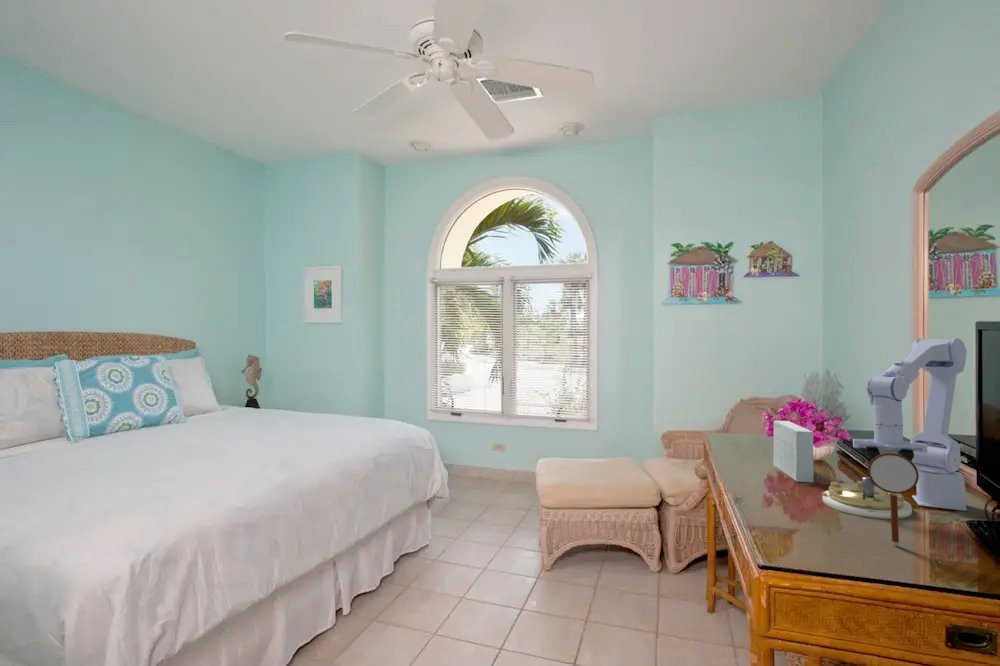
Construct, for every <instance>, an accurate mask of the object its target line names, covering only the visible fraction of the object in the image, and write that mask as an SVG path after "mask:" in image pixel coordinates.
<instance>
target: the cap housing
mask: <svg viewBox="0 0 1000 666" xmlns="http://www.w3.org/2000/svg"><path fill="white" fill-rule="evenodd" d="M821 494H822V502H823V503H824V504H825V505H826V506H828V507H829V506H830V508H831V507H832V508H831V509H833V510H837V511H839V512H842V513H847V514H848V515H849V514H850V515H853V516H860V517H865V518H872V519H873V518H874V519H881V520H882V519H884V520H887V519H888V520H891V510H873V509H865V508H859V507H854V506H850V505H846V504H843V503H840V502H837V501H835V500H833V499H832V498H830V497H829V489H828V490H825V491H823V492H821ZM912 509H913V506H912V504H911V503H910V502H908V501H906V500H904V507H903V508H901V509H898V520H899V519H905V518H909V517H911V516H912V514H913V510H912Z"/></svg>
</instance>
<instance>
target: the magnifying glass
mask: <svg viewBox="0 0 1000 666" xmlns="http://www.w3.org/2000/svg"><path fill="white" fill-rule="evenodd" d="M870 460H871V459H870ZM867 473H868V477H870V479H871V481H872V482H873V483H874V486H877V487H878V488H880V489H881V490H883V491H886V492H889V493H891V495H890V505H891V519H890V526H891V530H890V531H891V532H890V533H891V541H892V543H893V546H895V547H897V546H898V545H899V544H898V543H899V542H900V537H899V534H900V533H899V519H898V505H897V495H896V494H899V493H900V494H904V493H908V492H910V491H912V490H913V489H914V488H916V484H917V482H918V479H919V474H918V470H917V468H916V466H915V465H914V464H913V463H912V462H911V461H910V460H909V459H908V458H906V457H904V456H902V455H899V454H898V453H893V452H885V453H880V455H878V456H876V457H875V458H873V459H872V460H871V461H870V462H869V463H868V466H867Z"/></svg>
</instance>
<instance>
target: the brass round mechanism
mask: <svg viewBox="0 0 1000 666" xmlns="http://www.w3.org/2000/svg"><path fill="white" fill-rule="evenodd" d="M829 484H830V485H829V486H828V490H829V497H830V498H832V499H833V500H835V501H837V502H840V503H843V504H846V505H850V506H854V507H859V508H865V509H873V510H891V505H890V495H891V493H889V492H886V491H883V490H881V489H880V488H878V487H877V486H876V485H875V484H874V483H873V482H872V481H871V479H870V477H869V476H862V477H861V480H856V483H855V482H854V483H853V482H851V483H850V482H841V483H840V482H838V481H831V482H830V483H829ZM896 495H897V505H898V509H901V508H903V507H904V501H905V498H904V495H903V494H902V493H899V494H896Z"/></svg>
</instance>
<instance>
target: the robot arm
mask: <svg viewBox="0 0 1000 666" xmlns="http://www.w3.org/2000/svg"><path fill="white" fill-rule="evenodd" d="M910 348H911V350H910V351H911V352H910V353H909V354H908V356H907V357H906V358H905V359H904V360H896V361H895V362H893V364H892V365H891V366H889V368H887V369H886V370H885V371H884V372H883V373H881V375H875V376H873V377H870V379H869V380H868V382H867V386H866V392H867V395H868V397H869V402H870V405H871V406H872V411H873V413H872V414H873V415H872V417H873V433H874V434H873V437H874V438H872V439H871V438H867V439H866V438H865V439H863V438H862V439H861V438H853V439H852V447H853V448H855V449H859V448H860V449H861V448H862V449H865V451H866V452H867V454H868V456H869V458H870V460H872V459H873V458H875V457H876V456H878V455H880V454H881V453H880V450H887V451H889V450H890V451H897V454H899V455H902V456H904V457H906V458H908V459H909V460H910V461H911V462H912V463H913V464H914V465H915V466H916V468H917V470H918V474H919V479H918V482H917V484H916V486H915V488H916V495H911V498H913V500H914V502H916V504H917V505H918V506H921V507H929V508H938V509H939V508H941V509H947V510H955V511H956V510H957V511H964V512H965V511H967V510H968V509H967V506H966V505H967V504H966V502H967V500H966V483H965V478H964V475H963V474H962V472H957V471H958V470H959V469H960V467H961V463H962V457H961V446H960V444H959V443H958V442H957V441H956V440H955V439H953V438H952V437H950V436H949V435H948V434H949V428H950V421H951V416H952V409H953V404H954V403H953V402H954V395H955V389H956V383H957V375H958V374H960V373H963V372H964V369H965V366H966V360H967V359H966V358H967V348H966V345H965V343H964V341H963V340H962V339H960V338H957V337H956V338H933V339H932V338H929V339H927V338H926V339H925V338H924V339H922V338H917V339H915V340H914V341H913V342H912V343H911V347H910ZM920 369H922V370H923V371H925V372H927V373H929V374H930V376H931V377H930V378H931V379H930V384H929V390H928V391H929V392H928V397H927V405H926V410H925V416H924V422H923V423H924V424H923V428H922V431H920V432H918V433H916V434H914V435H912V436H911V438H910V441H904V426H903V402H902V401H903V400H905V398H906V397H907V394H908V390H909V388H910V385H911V384H912V383H913V382H914V381H915V380H916V379H917V378H918V377H919V375H920V372H919V370H920Z"/></svg>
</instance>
